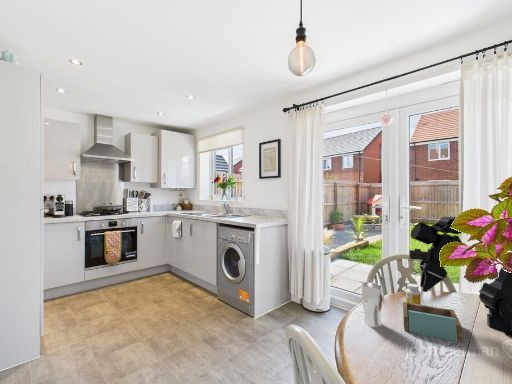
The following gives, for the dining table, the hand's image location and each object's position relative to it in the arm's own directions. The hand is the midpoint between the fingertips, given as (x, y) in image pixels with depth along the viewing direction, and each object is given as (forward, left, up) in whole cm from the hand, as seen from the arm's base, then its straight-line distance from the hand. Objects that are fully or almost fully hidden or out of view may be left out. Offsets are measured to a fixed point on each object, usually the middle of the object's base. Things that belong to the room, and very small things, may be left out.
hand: (422, 289), depth 92 cm
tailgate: (-2, +7, -13) cm, 15 cm away
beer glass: (+16, +7, -14) cm, 23 cm away
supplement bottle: (+2, -17, -14) cm, 22 cm away
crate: (-2, +1, -14) cm, 14 cm away
